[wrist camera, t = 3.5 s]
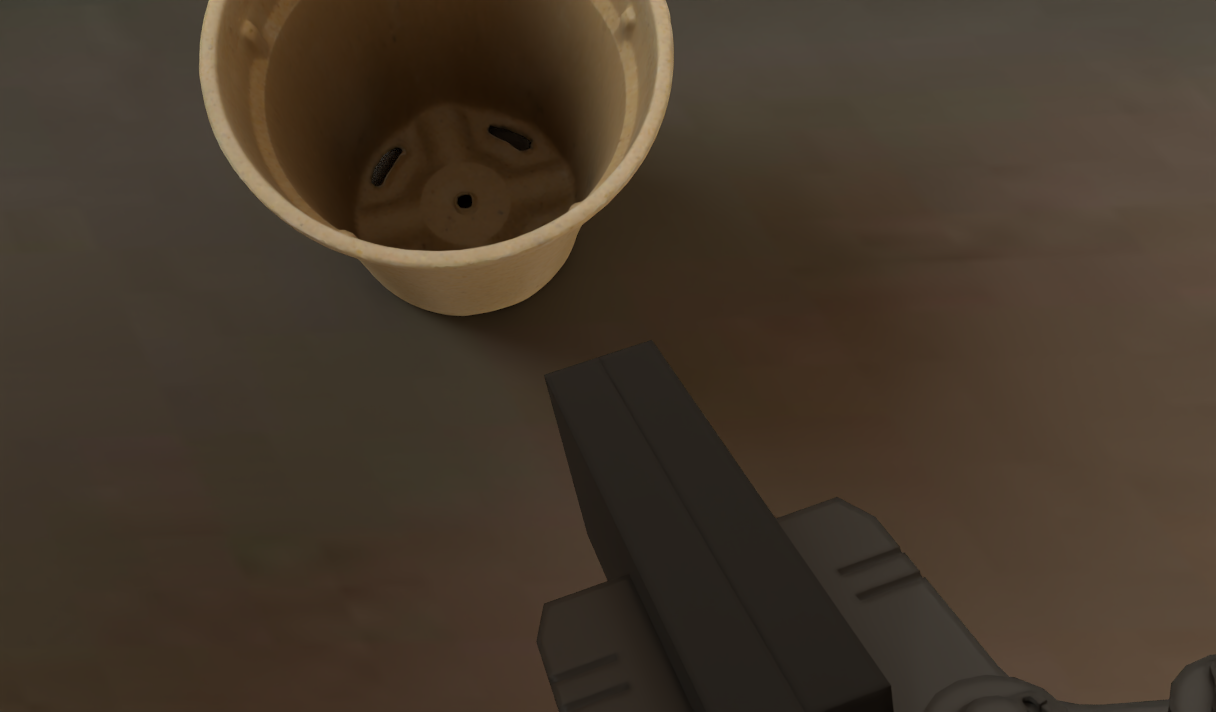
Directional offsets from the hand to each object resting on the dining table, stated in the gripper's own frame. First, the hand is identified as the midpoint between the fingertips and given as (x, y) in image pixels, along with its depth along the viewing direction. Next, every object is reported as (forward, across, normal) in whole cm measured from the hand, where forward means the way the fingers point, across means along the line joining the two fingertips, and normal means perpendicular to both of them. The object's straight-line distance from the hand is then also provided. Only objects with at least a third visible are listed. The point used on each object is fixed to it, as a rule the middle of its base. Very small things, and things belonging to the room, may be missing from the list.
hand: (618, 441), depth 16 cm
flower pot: (+17, 0, -3) cm, 17 cm away
